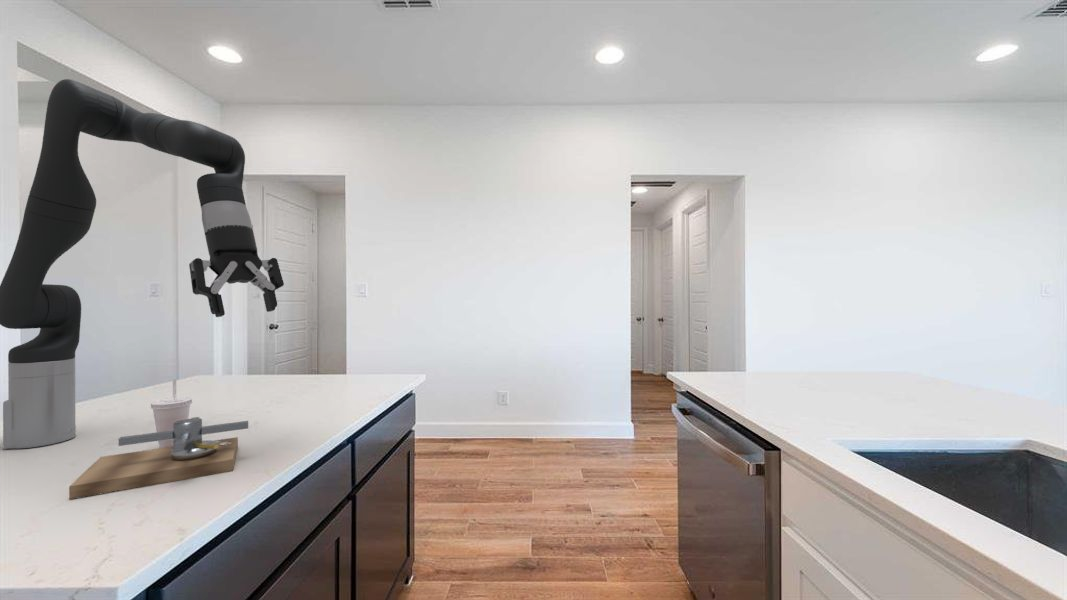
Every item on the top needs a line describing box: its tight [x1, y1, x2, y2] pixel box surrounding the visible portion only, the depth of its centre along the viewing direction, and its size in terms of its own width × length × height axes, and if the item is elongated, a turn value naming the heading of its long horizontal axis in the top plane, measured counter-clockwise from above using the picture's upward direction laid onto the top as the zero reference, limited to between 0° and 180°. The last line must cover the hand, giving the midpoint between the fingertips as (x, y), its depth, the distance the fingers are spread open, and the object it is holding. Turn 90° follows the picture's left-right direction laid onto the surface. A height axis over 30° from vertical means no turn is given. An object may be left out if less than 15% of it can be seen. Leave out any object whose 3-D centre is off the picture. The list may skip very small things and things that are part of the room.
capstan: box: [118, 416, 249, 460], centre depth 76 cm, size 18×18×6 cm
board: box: [68, 436, 239, 500], centre depth 74 cm, size 20×14×2 cm
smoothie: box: [150, 378, 193, 449], centre depth 85 cm, size 6×6×14 cm
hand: (246, 313), depth 78 cm, fingers open, 8 cm apart
